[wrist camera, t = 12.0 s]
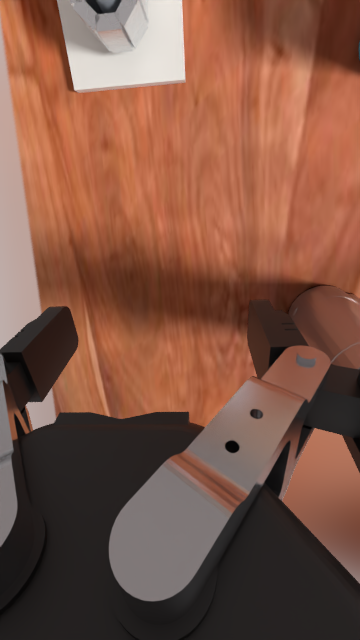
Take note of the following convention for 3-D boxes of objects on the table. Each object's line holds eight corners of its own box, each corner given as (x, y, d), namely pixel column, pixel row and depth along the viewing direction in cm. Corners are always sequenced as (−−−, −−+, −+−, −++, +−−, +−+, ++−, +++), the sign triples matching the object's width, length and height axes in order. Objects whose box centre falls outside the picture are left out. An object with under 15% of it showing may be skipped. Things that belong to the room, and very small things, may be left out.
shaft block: (179, -59, 25) (171, -164, 17) (185, 82, 30) (181, 51, 22) (53, -42, 26) (-11, -134, 18) (78, 92, 31) (37, 67, 23)
